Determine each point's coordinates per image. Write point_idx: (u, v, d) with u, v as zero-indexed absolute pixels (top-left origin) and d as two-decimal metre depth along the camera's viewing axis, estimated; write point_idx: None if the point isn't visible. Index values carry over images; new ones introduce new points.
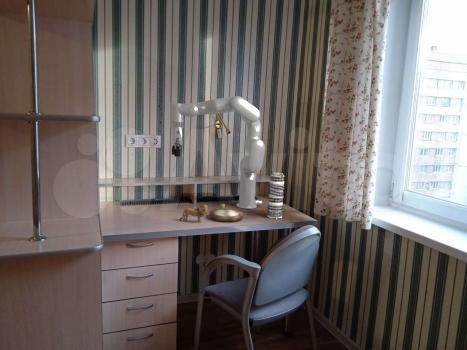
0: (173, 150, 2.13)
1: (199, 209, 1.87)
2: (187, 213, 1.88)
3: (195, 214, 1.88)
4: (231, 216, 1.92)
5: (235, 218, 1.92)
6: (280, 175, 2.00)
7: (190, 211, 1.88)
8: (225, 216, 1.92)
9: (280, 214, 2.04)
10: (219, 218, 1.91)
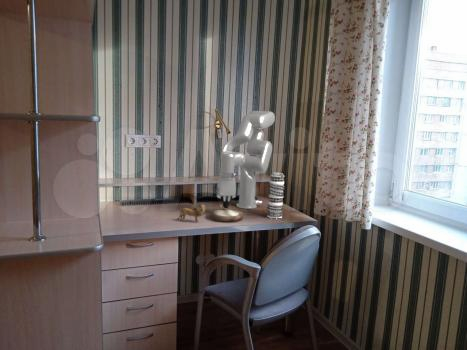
0: None
1: (196, 209, 1.87)
2: (184, 213, 1.88)
3: (192, 214, 1.88)
4: (233, 216, 1.93)
5: (237, 218, 1.93)
6: (280, 175, 2.00)
7: (187, 211, 1.88)
8: (227, 216, 1.92)
9: (280, 214, 2.04)
10: (222, 218, 1.90)
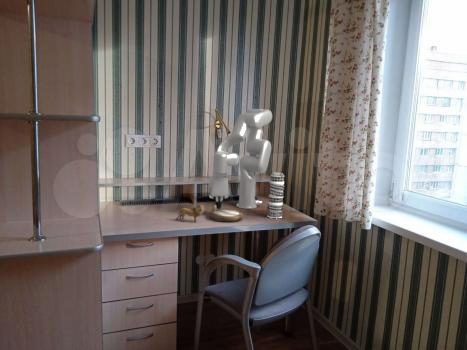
0: None
1: (195, 209, 1.87)
2: (183, 213, 1.88)
3: (191, 214, 1.88)
4: (239, 214, 1.96)
5: (242, 216, 1.97)
6: (280, 175, 2.00)
7: (186, 211, 1.88)
8: (235, 216, 1.94)
9: (280, 214, 2.04)
10: (233, 218, 1.91)
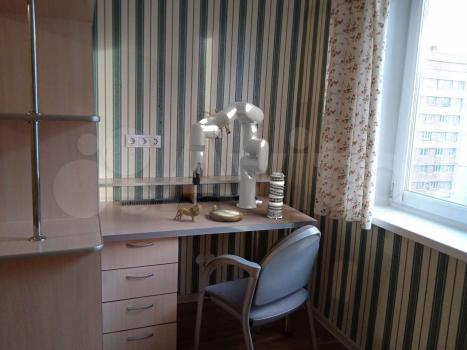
0: None
1: (193, 209, 1.87)
2: (181, 213, 1.88)
3: (189, 214, 1.88)
4: (239, 214, 1.96)
5: (242, 216, 1.97)
6: (280, 175, 2.00)
7: (184, 211, 1.88)
8: (235, 216, 1.94)
9: (280, 214, 2.04)
10: (233, 218, 1.91)
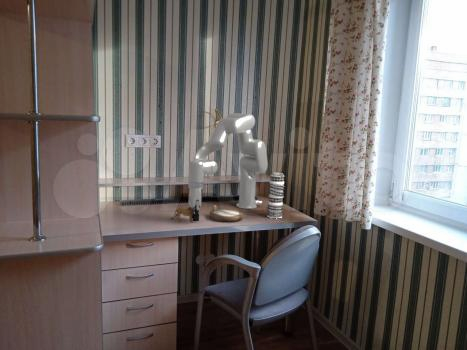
0: None
1: (191, 208, 1.87)
2: (179, 212, 1.88)
3: (187, 213, 1.88)
4: (239, 214, 1.96)
5: (242, 216, 1.97)
6: (280, 175, 2.00)
7: (182, 210, 1.88)
8: (235, 216, 1.94)
9: (280, 214, 2.04)
10: (233, 218, 1.91)
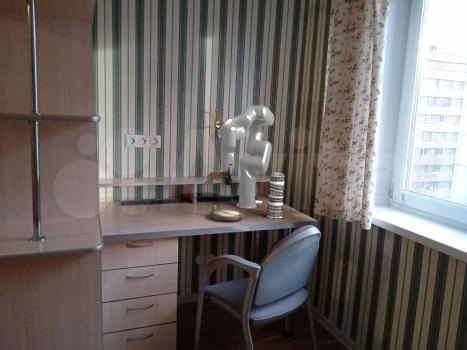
0: None
1: (224, 173, 1.94)
2: (212, 177, 1.95)
3: (220, 178, 1.94)
4: (239, 214, 1.96)
5: (242, 216, 1.97)
6: (280, 175, 2.00)
7: (215, 175, 1.95)
8: (235, 216, 1.94)
9: (280, 214, 2.04)
10: (233, 218, 1.91)
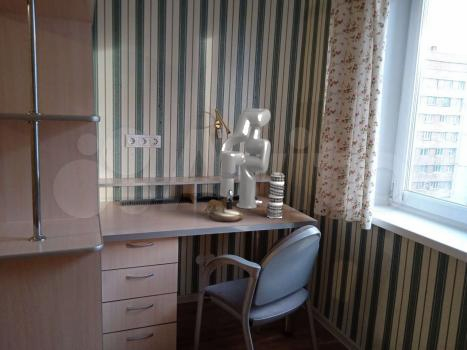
0: None
1: (224, 200, 1.96)
2: (212, 204, 1.97)
3: (220, 205, 1.97)
4: (239, 214, 1.96)
5: (242, 216, 1.97)
6: (280, 175, 2.00)
7: (215, 202, 1.97)
8: (235, 216, 1.94)
9: (280, 214, 2.04)
10: (233, 218, 1.91)
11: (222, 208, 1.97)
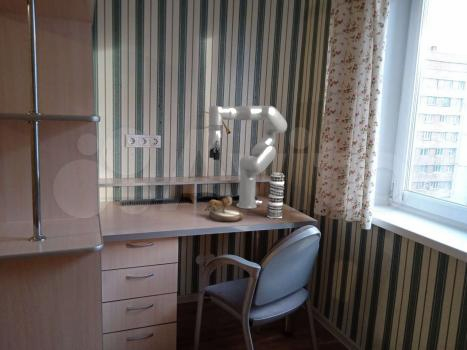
0: None
1: (224, 200, 1.96)
2: (212, 204, 1.97)
3: (220, 205, 1.97)
4: (239, 214, 1.96)
5: (242, 216, 1.97)
6: (280, 175, 2.00)
7: (215, 202, 1.97)
8: (235, 216, 1.94)
9: (280, 214, 2.04)
10: (233, 218, 1.91)
11: (222, 208, 1.97)
